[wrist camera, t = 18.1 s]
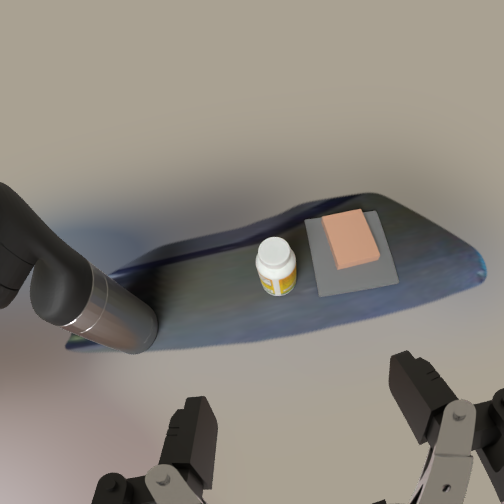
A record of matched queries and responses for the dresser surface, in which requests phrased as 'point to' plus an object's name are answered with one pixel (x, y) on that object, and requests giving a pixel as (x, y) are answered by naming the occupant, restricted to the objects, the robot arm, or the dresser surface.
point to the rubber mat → (354, 276)
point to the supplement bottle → (276, 266)
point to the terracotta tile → (350, 239)
